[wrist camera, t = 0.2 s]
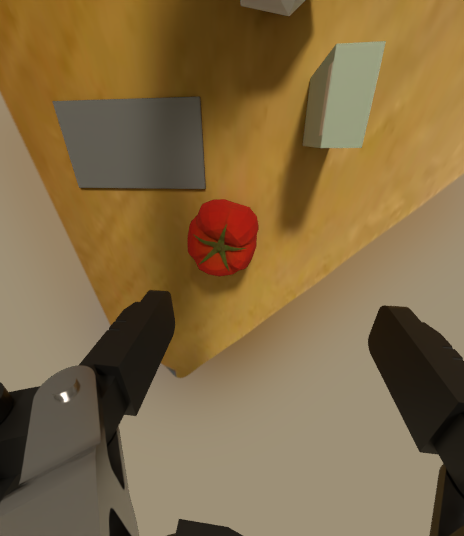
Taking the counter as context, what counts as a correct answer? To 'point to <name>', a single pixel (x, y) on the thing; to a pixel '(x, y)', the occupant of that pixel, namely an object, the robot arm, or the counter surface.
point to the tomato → (222, 237)
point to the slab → (342, 96)
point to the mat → (134, 142)
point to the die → (273, 5)
